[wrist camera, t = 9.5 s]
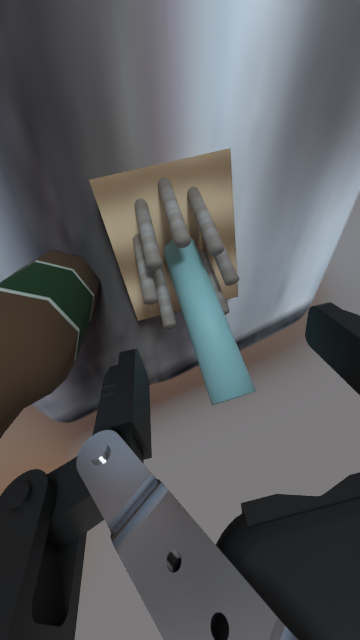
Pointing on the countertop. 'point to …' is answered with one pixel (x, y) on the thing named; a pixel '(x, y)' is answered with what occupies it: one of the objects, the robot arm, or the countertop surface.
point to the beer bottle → (42, 328)
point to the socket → (170, 227)
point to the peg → (207, 325)
